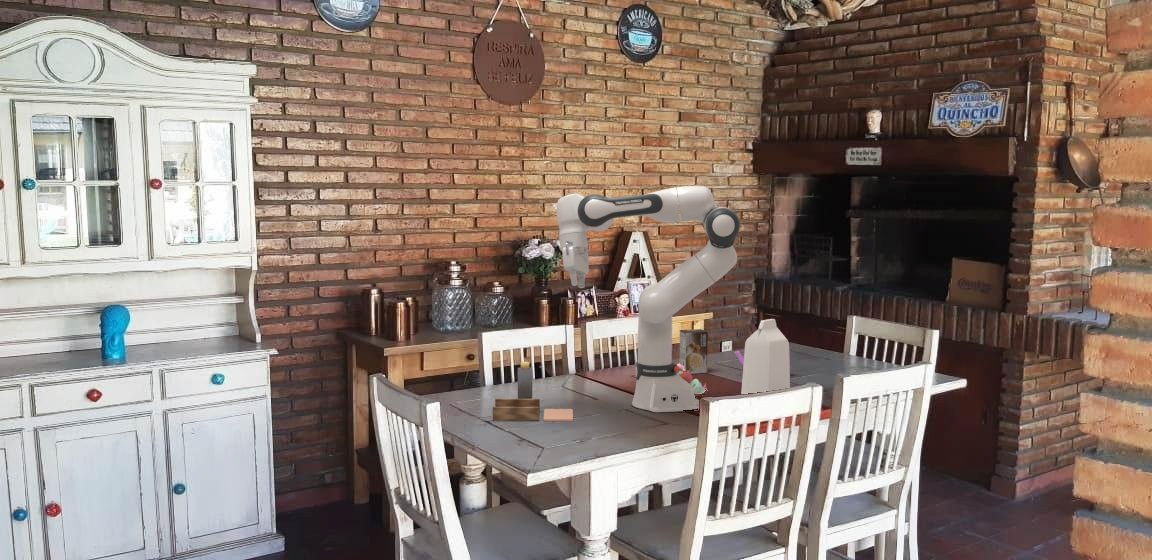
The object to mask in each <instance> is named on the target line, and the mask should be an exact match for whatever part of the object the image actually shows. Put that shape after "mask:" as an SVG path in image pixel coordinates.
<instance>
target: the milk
mask: <svg viewBox="0 0 1152 560" xmlns="http://www.w3.org/2000/svg"><path fill="white" fill-rule="evenodd" d="M776 321H777V320H776V319H775V318H770V319H769V318H768V319H763V320H760V322H759V325H758V329H756V330H755V331H754V332H753V333H752V334H751V335H749V337H748V338H746V340H745V342H744V353H743V354H744V355H743V357H744V365H743V366H742V380H741V391H740V392H741V393H740V394H741V395H743V394H748V393H757V392H766V391H772V390H779V389H785V388H790V389H791V376H790V374H791V373H790V372H791V371H790V369H791V368H790V366H791V363H790V364H789V355H790V343H789V340H788V339H787V338H786V336H785V335H784V334H783V332H781V330H780V329H779V327H778V326H777V322H776Z"/></svg>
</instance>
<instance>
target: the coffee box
mask: <svg viewBox="0 0 1152 560" xmlns="http://www.w3.org/2000/svg"><path fill="white" fill-rule="evenodd" d="M708 333H709V332H708V331H706V330H704V329H702V328H697V329H696V328H695V329H693V328H692V329H679V364H681V366H684V367H685V370H686V371H687V372H688V373H690V374H691V375H693V374H707V373H708V346H709V345H708V344H709V343H708V338H709V337H708V335H709V334H708Z"/></svg>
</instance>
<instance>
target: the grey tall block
mask: <svg viewBox="0 0 1152 560" xmlns="http://www.w3.org/2000/svg"><path fill="white" fill-rule="evenodd" d="M517 399H533V367H530V362H529V361H521V362H520V367H517Z"/></svg>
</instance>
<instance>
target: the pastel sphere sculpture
mask: <svg viewBox="0 0 1152 560" xmlns="http://www.w3.org/2000/svg"><path fill="white" fill-rule="evenodd" d="M676 365H677V366H679V367H680V372H679V373H677V374H678V375H679V376H680V377H682V378H683V379H684V380H685V381H686V382H688V383H689V384H690V385H691V386H692V388H693V390H694V394H702V393H704V392H705V391H706V390H707V391H708V389H707V383H705V384H702V383H701V381H699V379H698V378H693V374H690V373H688V372H687V371H686V370H685V367H684V366H681V364H680V363H677V364H676ZM705 389H706V390H705Z"/></svg>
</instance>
